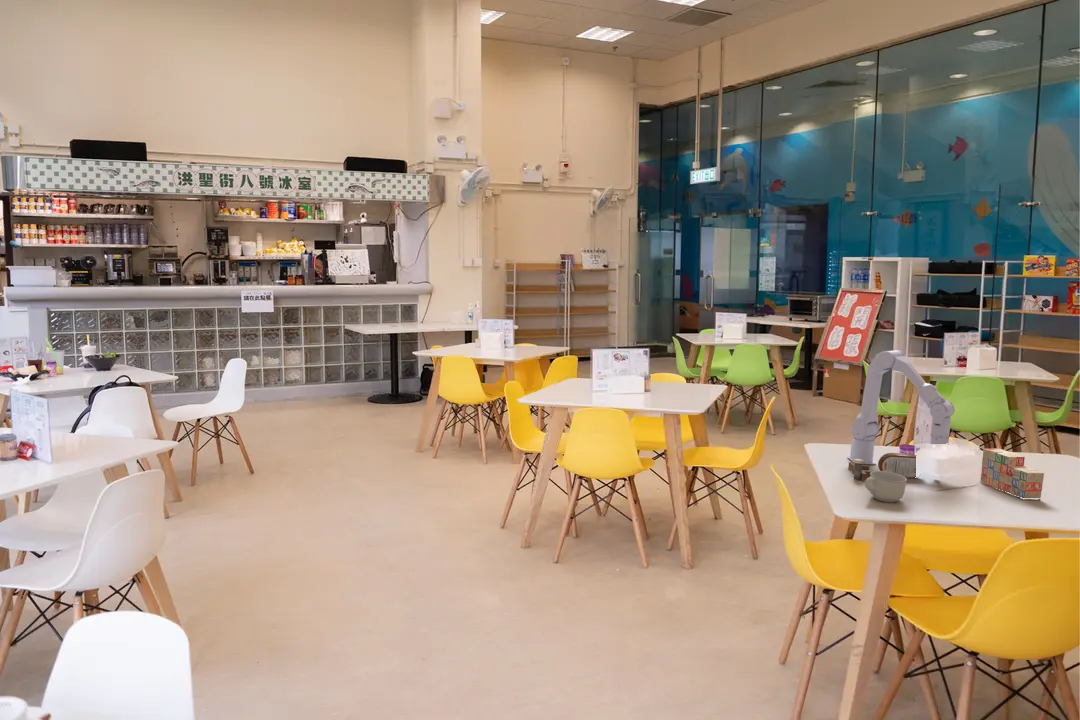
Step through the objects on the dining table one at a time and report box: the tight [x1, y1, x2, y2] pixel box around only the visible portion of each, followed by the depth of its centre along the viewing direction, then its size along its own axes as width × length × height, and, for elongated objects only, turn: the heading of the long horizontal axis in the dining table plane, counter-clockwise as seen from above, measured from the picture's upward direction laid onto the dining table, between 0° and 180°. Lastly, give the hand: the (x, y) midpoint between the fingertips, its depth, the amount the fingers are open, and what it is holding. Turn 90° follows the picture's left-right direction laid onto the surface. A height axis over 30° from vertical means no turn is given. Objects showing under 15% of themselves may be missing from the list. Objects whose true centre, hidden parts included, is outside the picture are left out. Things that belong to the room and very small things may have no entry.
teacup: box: [864, 470, 908, 503], centre depth 256 cm, size 14×11×8 cm
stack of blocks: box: [980, 448, 1045, 498], centre depth 271 cm, size 21×6×12 cm, turn 8°
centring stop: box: [847, 459, 873, 482], centre depth 286 cm, size 16×8×7 cm, turn 175°
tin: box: [877, 452, 917, 479], centre depth 284 cm, size 15×3×8 cm, turn 84°
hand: (936, 473), depth 284 cm, fingers closed
